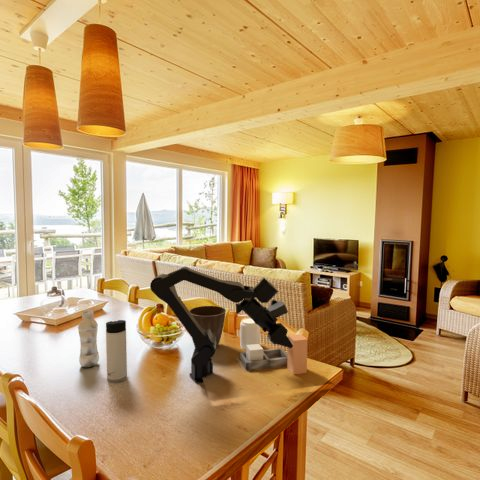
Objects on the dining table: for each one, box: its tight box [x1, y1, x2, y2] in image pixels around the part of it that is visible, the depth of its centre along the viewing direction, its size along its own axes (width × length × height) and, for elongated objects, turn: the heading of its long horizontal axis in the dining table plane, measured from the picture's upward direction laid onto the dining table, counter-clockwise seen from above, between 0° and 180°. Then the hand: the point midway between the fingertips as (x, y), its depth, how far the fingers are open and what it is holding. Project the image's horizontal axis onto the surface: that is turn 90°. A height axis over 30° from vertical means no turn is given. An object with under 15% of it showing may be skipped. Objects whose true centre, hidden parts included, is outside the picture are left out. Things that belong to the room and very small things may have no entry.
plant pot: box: [189, 305, 227, 349], centre depth 136 cm, size 15×15×16 cm
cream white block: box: [245, 344, 264, 361], centre depth 121 cm, size 5×5×6 cm
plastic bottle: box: [77, 309, 100, 368], centre depth 120 cm, size 6×7×20 cm
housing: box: [236, 347, 288, 373], centre depth 122 cm, size 19×11×4 cm, turn 105°
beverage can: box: [239, 317, 261, 351], centre depth 136 cm, size 8×8×12 cm
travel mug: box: [105, 319, 128, 384], centre depth 110 cm, size 6×7×20 cm
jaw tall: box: [287, 333, 308, 375], centre depth 115 cm, size 5×5×13 cm
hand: (287, 341), depth 114 cm, fingers open, 9 cm apart
